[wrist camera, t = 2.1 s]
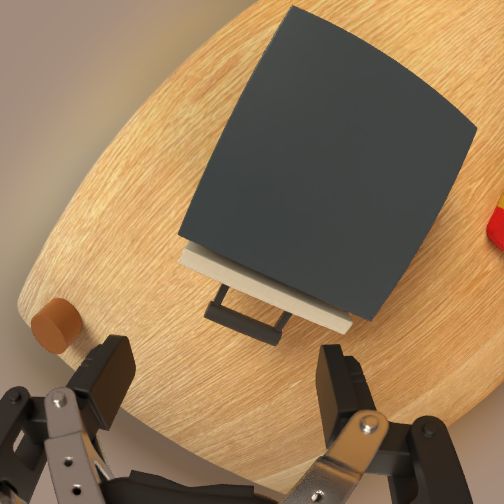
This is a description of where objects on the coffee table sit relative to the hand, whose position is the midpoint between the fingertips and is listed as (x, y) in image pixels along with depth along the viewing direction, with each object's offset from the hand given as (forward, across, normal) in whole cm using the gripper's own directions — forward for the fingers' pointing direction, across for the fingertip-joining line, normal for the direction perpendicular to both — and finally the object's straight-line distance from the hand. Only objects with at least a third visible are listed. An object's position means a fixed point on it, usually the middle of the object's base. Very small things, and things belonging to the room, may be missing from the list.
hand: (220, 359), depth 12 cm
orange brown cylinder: (+18, +23, +11) cm, 31 cm away
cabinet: (+18, -6, -7) cm, 20 cm away
